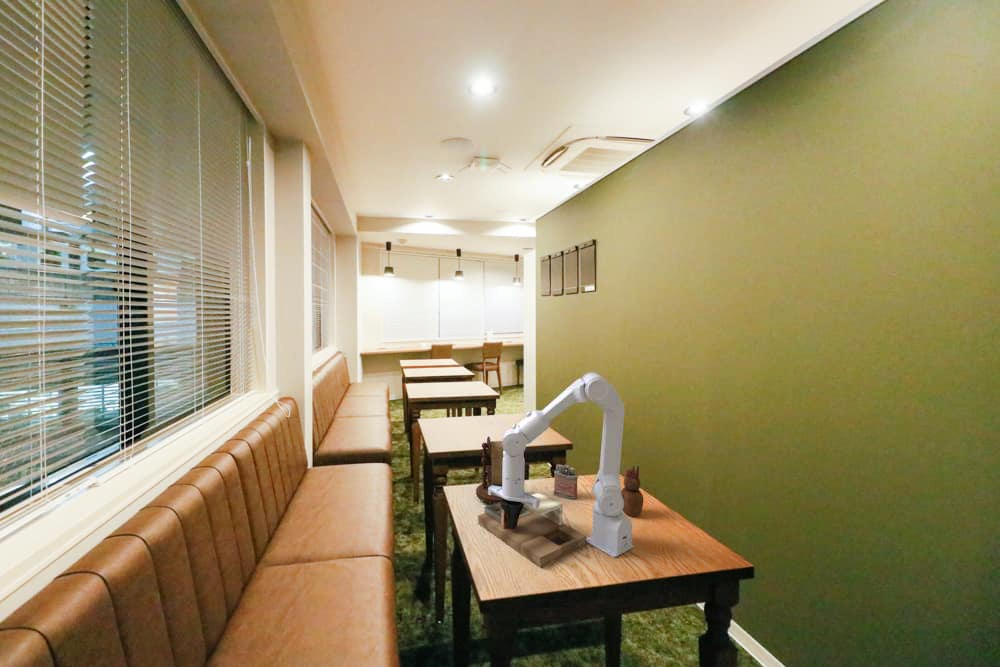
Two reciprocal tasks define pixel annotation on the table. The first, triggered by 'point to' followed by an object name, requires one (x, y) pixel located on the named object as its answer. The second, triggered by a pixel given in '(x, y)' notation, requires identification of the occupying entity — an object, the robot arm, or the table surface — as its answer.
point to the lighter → (565, 482)
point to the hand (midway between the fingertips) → (512, 527)
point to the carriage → (497, 516)
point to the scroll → (493, 476)
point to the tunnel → (538, 532)
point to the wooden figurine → (632, 493)
